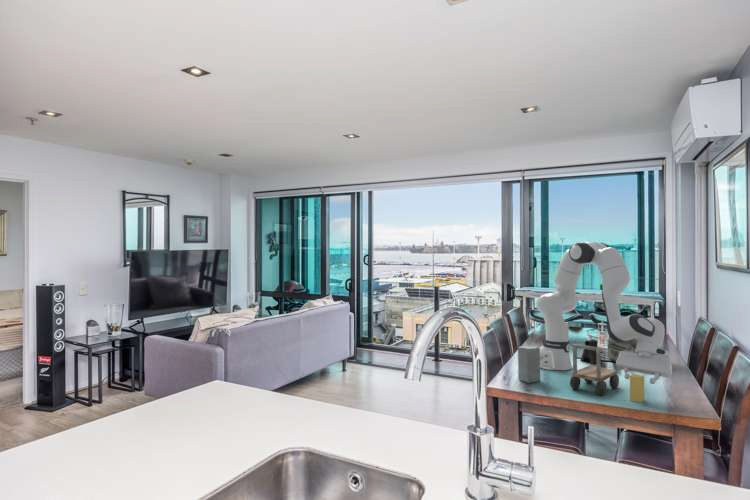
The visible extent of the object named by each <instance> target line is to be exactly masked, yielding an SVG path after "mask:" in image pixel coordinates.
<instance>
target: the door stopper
mask: <svg viewBox="0 0 750 500" xmlns="http://www.w3.org/2000/svg"><path fill="white" fill-rule="evenodd" d="M584 345H586V346H592V347H598V341H597V340H596V339H590V340H586V341H585V342H584ZM580 357H581V358H580V362H581V361H582V363H585V362H586V364H589V363H590V364H589V365H592V364H593V365H592V366H597V365H596V364H597V361H596V351H593V350H587V349H583V351H582V355H581V356H580ZM601 364H603V361H602V359H601Z"/></svg>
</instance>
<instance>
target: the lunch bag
mask: <svg viewBox="0 0 750 500" xmlns="http://www.w3.org/2000/svg"><path fill="white" fill-rule="evenodd" d="M637 342H638V341H637V339H635V338H634V339H631V340H629V341H627V342H625V343H617V342H615V341H614V340H612V339H611V338H610V336H609V335H608V339H607V358H608V359H609V360H611V361H613V362H615V363H616V361H617V358H618V356H619V353H620V351H622V350H631V351H635V349H636V346H637Z"/></svg>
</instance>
